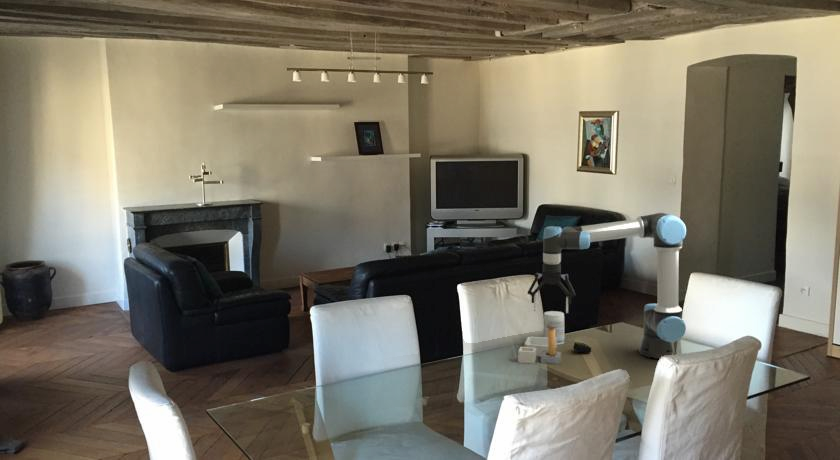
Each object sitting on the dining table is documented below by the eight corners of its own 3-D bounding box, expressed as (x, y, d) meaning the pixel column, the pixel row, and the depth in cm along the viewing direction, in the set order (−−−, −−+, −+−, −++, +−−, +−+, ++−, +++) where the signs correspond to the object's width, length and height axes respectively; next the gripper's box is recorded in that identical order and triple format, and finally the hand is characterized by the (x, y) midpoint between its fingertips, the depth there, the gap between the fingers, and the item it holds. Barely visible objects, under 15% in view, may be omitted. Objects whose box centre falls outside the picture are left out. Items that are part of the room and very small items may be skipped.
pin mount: (560, 358, 316) (561, 352, 316) (559, 364, 308) (559, 357, 308) (542, 357, 318) (542, 350, 318) (540, 362, 310) (540, 356, 310)
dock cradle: (556, 348, 331) (556, 337, 331) (554, 357, 318) (554, 346, 317) (528, 346, 335) (528, 336, 334) (524, 355, 321) (524, 344, 320)
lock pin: (557, 359, 314) (557, 323, 312) (556, 362, 310) (556, 326, 308) (547, 359, 315) (547, 323, 314) (546, 362, 311) (546, 325, 310)
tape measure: (576, 353, 320) (578, 345, 320) (570, 348, 327) (571, 340, 327) (590, 355, 322) (592, 347, 322) (583, 350, 328) (585, 342, 328)
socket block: (536, 358, 316) (536, 347, 316) (534, 363, 310) (534, 352, 309) (520, 357, 318) (520, 346, 318) (518, 362, 311) (518, 351, 311)
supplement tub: (568, 343, 339) (568, 313, 337) (556, 347, 333) (556, 316, 331) (551, 339, 346) (551, 309, 344) (539, 343, 340) (539, 313, 338)
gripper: (582, 262, 308) (581, 311, 311) (523, 260, 315) (523, 307, 317) (581, 265, 301) (580, 315, 304) (521, 262, 308) (520, 311, 310)
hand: (550, 311), depth 310 cm, fingers open, 13 cm apart
